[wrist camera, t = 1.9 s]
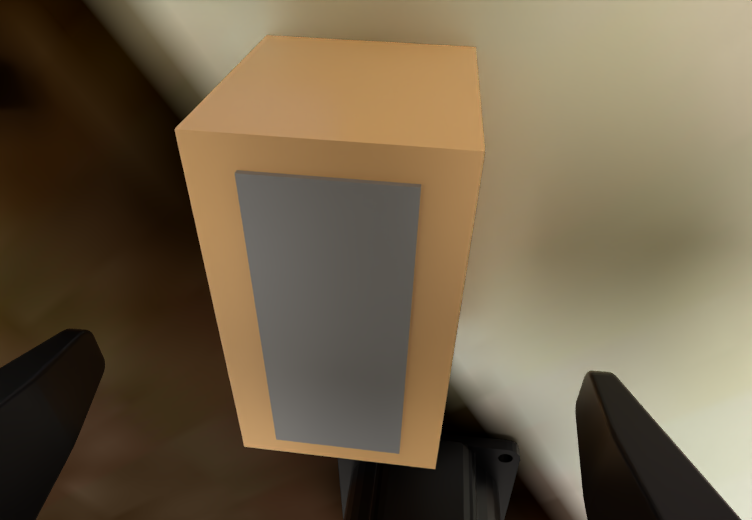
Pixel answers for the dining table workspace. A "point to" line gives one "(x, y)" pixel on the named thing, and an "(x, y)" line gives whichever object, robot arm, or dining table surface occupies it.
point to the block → (338, 238)
